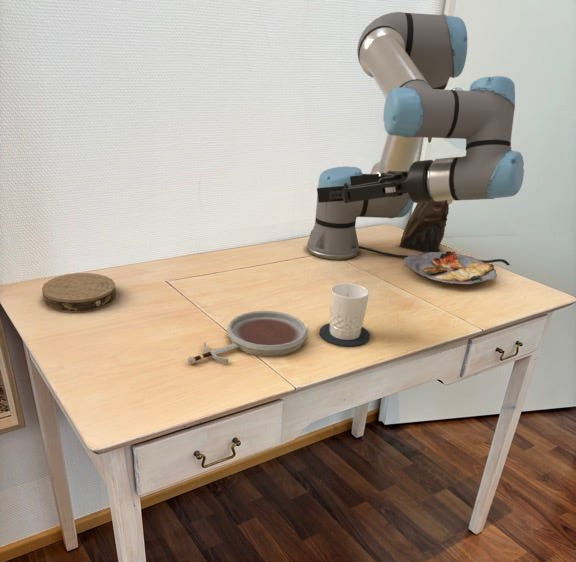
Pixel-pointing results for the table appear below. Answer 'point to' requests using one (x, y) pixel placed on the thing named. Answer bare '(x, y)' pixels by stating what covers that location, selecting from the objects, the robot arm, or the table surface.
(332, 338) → the coaster
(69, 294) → the tin can
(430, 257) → the food plate
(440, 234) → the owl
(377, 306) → the table surface
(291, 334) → the frying pan
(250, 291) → the table surface
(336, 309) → the white cup
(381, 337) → the table surface
